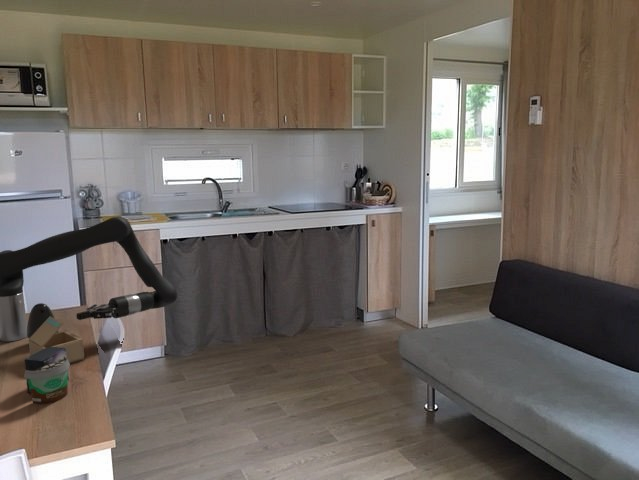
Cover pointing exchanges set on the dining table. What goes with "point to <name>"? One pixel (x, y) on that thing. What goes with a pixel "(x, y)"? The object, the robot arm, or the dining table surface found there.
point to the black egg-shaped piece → (38, 318)
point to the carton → (63, 345)
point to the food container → (48, 382)
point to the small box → (44, 359)
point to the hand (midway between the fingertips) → (77, 316)
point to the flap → (46, 331)
